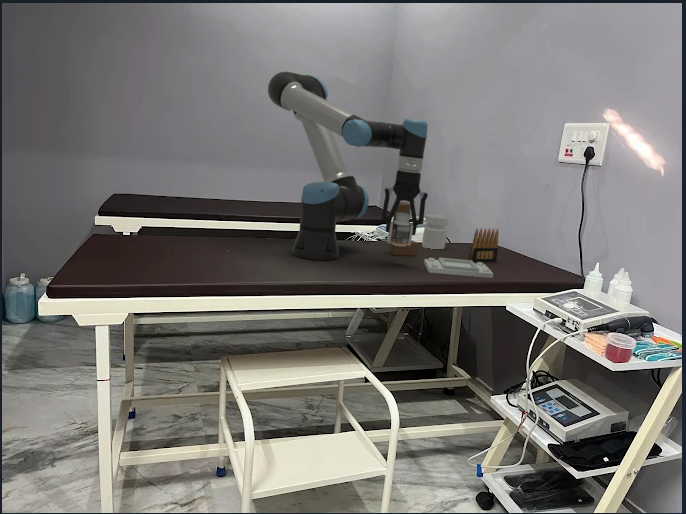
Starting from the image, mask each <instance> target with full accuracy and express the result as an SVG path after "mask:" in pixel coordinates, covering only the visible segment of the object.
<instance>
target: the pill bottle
mask: <svg viewBox="0 0 686 514" xmlns="http://www.w3.org/2000/svg"><path fill="white" fill-rule="evenodd" d="M395 217H396V219H395V220H394V221H393V220H392V222H393V228H392V235H391V242H390V243H391V244H392V245H396V246H407V245H408V239H409V233H410V226H411V224H412V222H411V221H410V219H411V214H410V215H409V214H406V213H396V215H395ZM390 243H389V244H390Z"/></svg>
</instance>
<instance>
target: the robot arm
mask: <svg viewBox="0 0 686 514" xmlns="http://www.w3.org/2000/svg"><path fill="white" fill-rule="evenodd" d="M328 93H329V92H328V89H327V87H326V85H325V83H324V81H322V80H321V79H320V78H318V77H316V76H313V75H310V74H305V75H304V74H301V73H295V72H290V71H281V72H277V73H276V74H274V75H273V76H272V77H271V79H270V80H269V82H268V86H267V94H268V96H269V99H270V100H271V101H272V103H273V104H275V105H276V106H278V107H279V108H282V109H283V110H285V111H287V112H291V111H293V114H294V118H295V119H296V120H298V121H299V122H301V123H302V127H303V129H304V132H305V134H306V136H307V140H308V142H309V145H310V148H311V150H312V153H313V155H314V157H315V161H316V163H317V166H318V168H319V170H320V174H321V177H322V179H323V181H321V182H320V181H316V182H310V183H307V184H305V185H304V186H303V188H302V192H301V193H302V194H301V196H300V199H301V201H300V203H301V204H300V217H299V218H300V219H299V231H298V233H297V236H296V238H295V241H294V243H293V246H292V254H293V255H294V256H295V257H298V258H302V259H307V260H314V261H330V260H336V259H337V258H339V253H340V250H339V244H338V240H337V236H336V226H337V222H344V221H353V220H357V219H359V218H362V217H363V216H364V215H365V213H366V212H367V209H368V207H369V204H370V203H369V201H370V200H369V199H370V198H369V194H368V192H367V190H366V189H365V188H364V187H363V186H361V185H360V184H358V183H357V181H356V178H355V176H354V175H353V174H350V173H349V172H348V170H347V167H346V165H345V162H344V160H343V158H342V154H341V152H340V149H339V147H338V144H337V141H336V139H335V137H334V134H337V135H338V136H340V137H341V138H343V140H344V141H345V144H347V145H349V146H353V147H356V148H362V147H367V148H369V147H372V148H387V149H394V150H399V151H398V152H399V153H398V160H397V161H398V162H397V166H396V167H397V169H398V170H397V171H396V175H395V180H394V182H395V183H394V184H393V187H386V188H384V194H385V196H384V201H383V208H382V212H381V220H382V221H385V222H386V223H385V232H386V233H388V235H387V244H390V242H391V235H392V228H393V216H394V214H395V212H396V209H397V207H398V205H399V203H400V202H401V201H407V202H409V204H410V216H411V220H412V223H411V226H410V233H409V239H408V246H410V245H411V240H412V239H413V238H412V237H413V236H416V233H417V227H418V225H419V226H420V225H423V224H424V221H425V219H424V218H425V209H426V200H427V198H428V197H429V194H428V193H427V192H426V191H422V190H421V188H420V183H421V177H422V173H421V172H422V170H423V163H424V162H423V161H424V155H425V148H426V141H427V138H428V125H429V124H428V122H427V121H425V120H421V119H419V120H418V119H411V118H405V119H403V124H396V123H390V122H389V123H388V122H384V121H372V120H366V119H364V118H361V117H360V116H357V115H356V114H354V113H351V112H350V111H348V110H346V109H344V108H342V107H340V106H338V105H336V104H334V103H333V102H331V101H329V100H328V97H329V95H328ZM333 133H334V134H333ZM392 193H394V194H395V196H396V198H395V200H394V202H393V205H392V207H391V209H390V210H389V213H388V207H389V202H390V196H392ZM418 195H419V198H420V203H419V212H418V218H417V212H416V206H415V198H416V197H417V196H418ZM387 213H388V216H387Z"/></svg>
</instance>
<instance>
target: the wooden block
mask: <svg viewBox="0 0 686 514" xmlns="http://www.w3.org/2000/svg"><path fill="white" fill-rule="evenodd" d="M396 213H406V214H409V215H410V216H411V208H410V203H408V202H401V201H400V203H399V205H398V207H397V209H396V212H395V214H394V216H393V218H392V222H393V221H394V220H395V219H396V217H395V215H396ZM389 244H390V245H389V252H388V253H390V254H391V255H393V256H405V257H406V256H408V257H409V256H410V257H411V256H412V257H413V256H414V257H417V256H418V251H419V243H418V242H416V241H414V240H412V239H411V245H410V246H408V245H407V246H396V245H392V244H391V243H389Z"/></svg>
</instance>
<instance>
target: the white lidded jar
mask: <svg viewBox="0 0 686 514" xmlns="http://www.w3.org/2000/svg"><path fill="white" fill-rule="evenodd" d="M424 218H425V219H424V222H425V223H426V225H425V226H424V230H423V233H422V234H423V235H422V243H421V246H422V248H425V249H427V248H430V249H429V250H432V249H443V250H444V249H445V247H446V240H447V235H448V229H447V226H448V225H449V221H450V218H449V217H448V216H447V215H441V214H434V213H433V214H431V213H429V214H428V213H427V214H426V215H425V217H424Z"/></svg>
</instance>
